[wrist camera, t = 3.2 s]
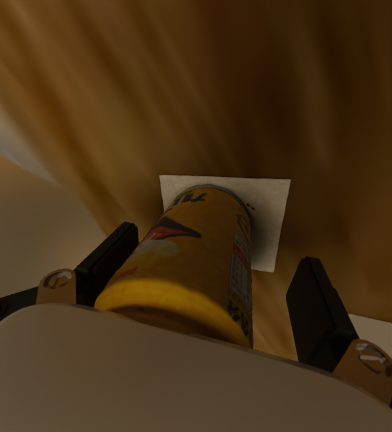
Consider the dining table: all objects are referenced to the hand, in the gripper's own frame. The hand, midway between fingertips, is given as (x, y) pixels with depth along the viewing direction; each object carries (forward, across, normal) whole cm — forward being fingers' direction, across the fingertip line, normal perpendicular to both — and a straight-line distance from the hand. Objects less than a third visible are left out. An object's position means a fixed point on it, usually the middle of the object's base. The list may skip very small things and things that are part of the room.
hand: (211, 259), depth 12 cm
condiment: (+4, 0, 0) cm, 4 cm away
